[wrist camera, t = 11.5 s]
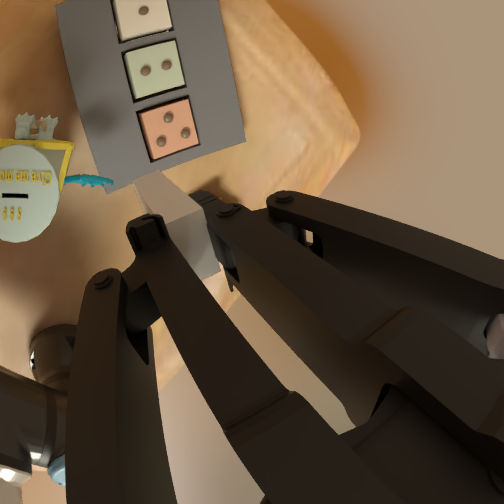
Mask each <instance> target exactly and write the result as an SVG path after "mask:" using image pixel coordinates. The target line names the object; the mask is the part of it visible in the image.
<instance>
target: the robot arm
mask: <svg viewBox="0 0 504 504" xmlns="http://www.w3.org/2000/svg"><path fill="white" fill-rule="evenodd" d="M132 182H133V185H134V187H135V190H136V193H137V196H138V199H139V201H140V204H141V207H142V210H143V212H144V215H142V216H140V217H138V218H136V219H133V220H131V221H129V222H128V224H127V226H126V235H127V237H128V239H129V242H130V244H131V246H132V248H133V251H134V253H135V255H136V257H135V260H134V262H133V263H132V264H131V266H130V267H129V268H127V269H126V270H125V271H124V272H122V273H121V272H120V271H119V270H118V269H114V268H110V269H106V270H103V271H100V272H98V273H96V274H95V275H94V276H93V277H92V278H91V279H90V280H89V282H88V283H87V285H86V288H85V292H84V296H83V301H82V306H81V310H80V315H79V320H78V325H77V326H75V325H57V326H52V327H49V328H47V329H45V330H43V331H42V332H40V333H39V334H38V335H37V336H36V337H35V338H34V340H33V341H32V343H31V346H30V356H29V361H30V367H31V370H32V373H33V376H34V378H35V381H34V380H32V379H29V378H27V377H24V376H22V375H20V374H18V373H15V372H13V371H11V370H9V369H7V368H5V367H3V366H1V365H0V504H23V500H22V490H21V487H22V485H23V484H24V483H25V482H26V481H27V480H29V479H30V478H31V477H32V465H31V464H34V465H37V466H41V467H45V468H48V470H47V471H48V474H49V475H50V477H51V479H52V480H53V481H54V482H55V483H58V484H60V485H62V486H66V500H67V504H177V500H176V495H175V491H174V486H173V482H172V477H171V472H170V467H169V462H168V456H167V451H166V445H165V439H164V433H163V426H162V420H161V413H160V405H159V398H158V389H157V380H156V370H155V359H154V348H153V334H152V329H151V327H150V325H152V324H153V323H154V322H155V321H156V320H158V319H159V318H160V317H161V316H162V318H163V320H164V322H165V324H166V326H167V328H168V330H169V332H170V334H171V336H172V338H173V340H174V342H175V344H176V346H177V348H178V350H179V352H180V354H181V356H182V358H183V360H184V362H185V364H186V366H187V368H188V369H189V371H190V373H191V375H192V377H193V379H194V381H195V382H196V384H197V386H198V388H199V390H200V391H201V393H202V395H203V397H204V399H205V400H206V402H207V404H208V405H209V407H210V409H211V411H212V412H213V414H214V416H215V417H216V419H217V421H218V422H219V424H220V425H221V427H222V429H223V432H224V434H225V436H226V437H227V439H228V441H229V442H230V444H231V446H232V447H233V449H234V451H235V452H236V454H237V455H238V457H239V458H240V460H241V461H242V463H243V464H244V466H245V467H246V468H247V470H248V472H249V473H250V474H251V476H252V477H253V479H254V480H255V482H256V483H257V484H258V486H259V487H260V489H261V490H262V491H263V493H264V494H265V496H264V498H263V499H262V501H261V502H260V504H504V260H503V259H498V258H496V257H494V256H491V255H489V254H486V253H484V252H481V251H479V250H476V249H474V248H471V247H468V246H466V245H463V244H461V243H458V242H455V241H453V240H450V239H447V238H444V237H442V236H439V235H436V234H433V233H430V232H427V231H424V230H422V229H419V228H416V227H413V226H410V225H407V224H404V223H401V222H398V221H395V220H392V219H389V218H386V217H382V216H379V215H376V214H373V213H370V212H366V211H363V210H360V209H356V208H353V207H350V206H346V205H343V204H340V203H336V202H333V201H329V200H325V199H322V198H318V197H315V196H311V195H307V194H303V193H300V192H296V191H285V190H283V191H278V192H276V193H274V194H271V195H270V196H269V197H267V200H266V204H267V208H263V209H259V210H254V211H251V210H249V209H248V208H246V207H245V206H243V205H241V204H234V203H232V204H225V203H224V202H222V201H221V200H220V199H218V198H217V197H215V196H214V195H213V194H211V193H210V192H208V191H201V190H200V191H197V192H195V193H192V194H190V195H187V194H186V193H185V192H183V191H182V190H181V189H180V188H179V187H178V186H176V185H175V184H174V183H173V182H172V181H171V180H169V179H168V178H167V177H166V176H165V175H164V174H163V173H161V172H160V171H159V170H157V171H154V172H152V173H149V174H147V175H144V176H142V177H139V178H137V179H135V180H132ZM306 230H308V231H311V232H313V243H310V242H307V241H306ZM218 260H219V262H220V263H221V264H222V265H223V268H224V271H225V275H226V278H227V281H228V285H229V288H230V291H231V292H233V291H234V290H233V285H234V286H235V287H236V288H237V289H238V291H239V292H240V293H241V294H242V295H243V296H244V297H245V298H246V300H247V301H248V302H249V303H250V304H251V305H252V306H253V307H254V309H255V310H256V311H257V312H258V313H259V314H260V315H261V316H262V317H263V318H264V320H265V321H266V322H267V323H268V324H269V325H270V326H271V327H272V329H273V330H274V331H275V332H276V333H277V334H278V335H279V336H280V337H281V338H282V339H283V340H284V342H285V343H286V344H287V345H288V346H289V347H290V348H291V349H292V350H293V351H294V353H295V354H296V355H297V356H298V357H299V358H300V359H301V360H302V361H303V362H304V363H305V364H306V365H307V366H308V367H309V369H310V370H311V371H312V372H313V373H314V374H315V375H316V376H317V377H318V378H319V379H320V380H321V381H322V382H323V383H324V384H325V386H327V388H328V389H329V390H330V391H331V392H332V393H333V394H334V395H335V396H336V397H337V398H338V399H339V400H340V401H341V403H342V404H343V406H344V407H345V410H346V412H347V415H348V417H349V418H350V420H351V421H352V423H353V424H354V425H355V426H356V428H354V429H351V430H349V431H347V432H345V433H343V434H340V435H338V434H337V433H336V432H335V431H334V430H333V429H332V428H331V427H330V426H329V425H328V423H327V422H326V421H325V420H324V419H323V418H322V417H321V416H320V415H319V414H318V412H317V411H316V410H315V409H314V408H313V407H312V406H311V405H310V403H309V402H308V401H307V400H305V398H304V397H303V396H301V395H300V394H299V393H297V392H296V391H289V390H288V389H286V388H285V387H284V386H283V384H281V382H280V381H279V380H278V379H277V377H276V376H275V375H274V374H273V373H272V371H271V370H270V369H269V368H268V366H267V365H266V364H265V363H264V362H263V360H262V359H261V358H260V357H259V355H258V354H257V353H256V352H255V350H254V349H253V348H252V347H251V345H250V344H249V343H248V342H247V340H246V339H245V338H244V337H243V335H242V334H241V333H240V331H239V330H238V329H237V327H236V326H235V325H234V324H233V322H232V321H231V320H230V318H229V317H228V316H227V315H226V313H225V312H224V311H223V309H222V308H221V307H220V305H219V304H218V303H217V301H216V300H215V299H214V297H213V296H212V295H211V293H210V292H209V291H208V289H207V288H206V287H205V285H204V284H203V283H202V281H201V280H203V279H205V278H207V277H210V276H212V275H214V274H216V273H218V272H220V271H221V269H220V266H219V263H218Z"/></svg>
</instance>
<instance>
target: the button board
mask: <svg viewBox="0 0 504 504" xmlns="http://www.w3.org/2000/svg"><path fill="white" fill-rule="evenodd" d="M166 1H167V6H168V11H169V15H170V20H171V25H172V27H171V28H170V29H168V30H169V32H166V33H161V34H157V35H152V36H148V37H144V38H140V39H137V40H133V41H129V42H126V43H123V44H119V43H118V38H117V33H116V28H115V24H114V19H113V13H112V8H111V3H112V2H114V0H68V1H65V2H63V3H60V4H57V5H56V12H57V18H58V24H59V30H60V35H61V41H62V46H63V51H64V55H65V60H66V64H67V69H68V73H69V77H70V81H71V85H72V89H73V93H74V96H75V100H76V104H77V107H78V111H79V114H80V118H81V121H82V124H83V128H84V131H85V134H86V137H87V140H88V143H89V146H90V149H91V152H92V155H93V158H94V161H95V164H96V167H97V170H98V172H99V175H100V176H101V177H104V178H110V180H111V179H112V180H113V182H114V185H113V186H111V184H104V188H105V191H106V194H109V193H111V192H113V191H115V190H118V189H120V188H122V187H125V186H127V185H129V184H132V183H133V182H132V180H135V179H137V178H139V177H142V176H144V175H147V174H149V173H152V172H154V171H157V170H159V171H160V172H161V171H163V170H166V169H169V168H171V167H174V166H176V165H179V164H182V163H184V162H187V161H190V160H193V159H195V158H198V157H201V156H204V155H207V154H210V153H213V152H216V151H219V150H222V149H225V148H228V147H231V146H234V145H237V144H240V143H243V142H246V138H245V133H244V128H243V122H242V117H241V112H240V107H239V102H238V97H237V92H236V87H235V82H234V77H233V72H232V67H231V62H230V57H229V52H228V47H227V42H226V37H225V32H224V27H223V23H222V18H221V13H220V8H219V4H218V0H166ZM170 41H175V43H176V48H177V53H178V57H179V62H180V66H181V70H182V75H183V79H184V85H181V89H178V90H174V91H171V92H167V93H164V94H160V95H157V96H154V97H151V98H148V99H145V100H142V101H139V102H136V103H133V101H132V97H131V93H130V89H129V85H128V81H127V77H126V73H125V69H124V65H123V60H122V56H121V54H124V53H128V52H131V51H134V50H138V49H142V48H145V47H149V46H153V45H157V44H161V43H166V42H170ZM182 96H183V97H184V99H188V101H189V105H190V109H191V114H192V118H193V122H194V126H195V130H196V134H197V139H198V143H199V144H196V145H193V146H190V147H187V148H184V149H181V150H178V151H176V152H173V153H170V154H167V155H165V156H162V157H159V158H157V159H153V158H151V159H149V157H148V154H147V150H146V147H145V143H144V140H143V137H142V133H141V130H140V126H139V123H138V119H137V115H136V112H135V111H138V110H141V109H144V108H147V107H150V106H153V105H156V104H159V103H162V102H165V101H169V100H172V99H176V98H179V97H182Z"/></svg>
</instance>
